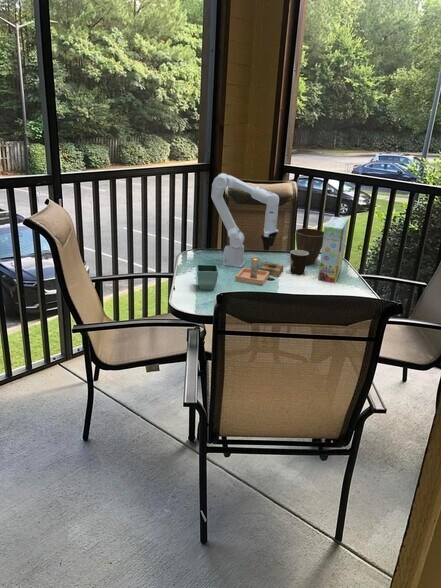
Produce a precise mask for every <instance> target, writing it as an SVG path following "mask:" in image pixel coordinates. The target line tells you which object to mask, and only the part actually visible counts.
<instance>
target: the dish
mask: <svg viewBox="0 0 441 588" xmlns="http://www.w3.org/2000/svg"><path fill="white" fill-rule="evenodd" d="M250 274H251V267H242V268H241V270H239V272H238V273H237V274H235V277H234V282H240V283H245V284H252V285H255V286H257V285H258V286H263V285H264V284H265V283H266V282H267V280H268V279H269V278H270V275H269V274H270V272H268V271H262V270H261V269H258V270H257V278H256V279H254V278H250Z"/></svg>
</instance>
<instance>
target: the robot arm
mask: <svg viewBox="0 0 441 588" xmlns="http://www.w3.org/2000/svg"><path fill="white" fill-rule="evenodd" d="M231 188H236V189H239V190H241V191H243V192H245V193H248V194H250V196H251V198H252V199H254V200H257V201H259V202H260V203H261V204H266V209H265V216H264V226H263V227H264V228H263V234H261V235H260V238H261V241H262V244H263V250H264V251H269V250H270V247H273V245H274V243H275V239H276V236H277V235H278V233H279V229H277V224H278V223H277V222H278V217H279V216H278V214H279V204H280V197H279V195H278V194H277V193H275V192H272V191H268V190H266V189H264V187H263V186H262V185H261V186H258V185H257V186H251V185H250V184H248V183H246V182H244V181H243V180H241V179H238V178H237V177H234V176H233V175H231V174H230V175H229V174H227V173H225V172H221V173H218V175H217V176H216V177H214V179H213V182H212V184H211V195H210V197H211V200H212V202H213V204H214V206H215V208H216V210H217V212H218V215H219V216H220V219H221V220H222V222H223V225H224V227H225V229H226V231H227V237H228V238H229V245H225V246H224V249H223V261H222V265H223V266H228V267H235V268H243V266H245V264H246V262H245V261H244V255H245V254H244V253H245V245H244V244H243V243H244V241H245V239H246V238H245V235H244V233H243V232H242V231H241V230H240V229H239V227H238V225H237V224H236V222H235V220H234V218H233V216H232V215H233V214H232V213H231V211H230V209H229V207H228V205H227V203H226V201H225V199H224V197H223V196H224V194H225V193H224V192H225V190H226V189H231Z"/></svg>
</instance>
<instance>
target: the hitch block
mask: <svg viewBox="0 0 441 588" xmlns="http://www.w3.org/2000/svg"><path fill="white" fill-rule="evenodd" d="M260 270H262V271H268V272H270V274H269V276H270V275H271V277H277V278H279V277H280V276H281V275H282V273H283V272H284V264H279V263H272V262H264V263H263V264H262V266H261V267H260Z"/></svg>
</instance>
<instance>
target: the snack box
mask: <svg viewBox="0 0 441 588" xmlns="http://www.w3.org/2000/svg"><path fill="white" fill-rule="evenodd" d="M348 223H349V218H348V217H339V216H331V218H329V221H328V222H327V223H326V224H325V226H324V229H323V232H324V236H323V244H322V248H321V252H320V253H321V254H320V262H319V271H318V278H317V280H318V281H322V282H329V283H335V284H336V281H337V279H338V276H339V275H340V273H341V270H342V269H343V268H342V266H343V261H344V251H345V247H346V246H345V245H346V239H347V231H348Z"/></svg>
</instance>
